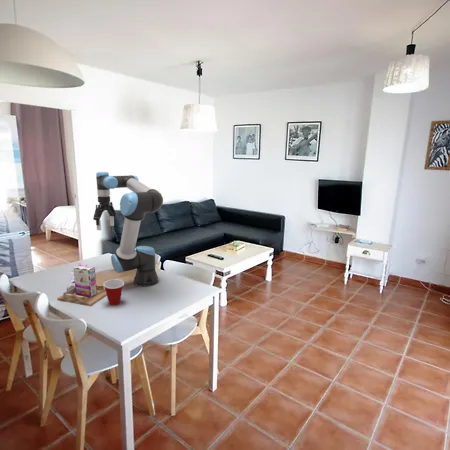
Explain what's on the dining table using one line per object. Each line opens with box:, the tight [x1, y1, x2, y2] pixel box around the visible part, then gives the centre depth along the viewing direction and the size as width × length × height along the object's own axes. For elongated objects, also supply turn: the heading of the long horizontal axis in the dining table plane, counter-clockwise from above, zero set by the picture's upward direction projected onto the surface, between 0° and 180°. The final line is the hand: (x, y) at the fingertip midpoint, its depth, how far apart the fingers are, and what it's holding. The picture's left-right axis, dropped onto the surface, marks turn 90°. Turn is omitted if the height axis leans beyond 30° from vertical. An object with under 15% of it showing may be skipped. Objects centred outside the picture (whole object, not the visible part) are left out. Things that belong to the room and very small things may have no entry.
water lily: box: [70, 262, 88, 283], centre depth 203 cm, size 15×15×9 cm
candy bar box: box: [73, 264, 97, 297], centre depth 179 cm, size 11×5×16 cm, turn 70°
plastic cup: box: [102, 278, 125, 306], centre depth 172 cm, size 11×11×12 cm
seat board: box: [56, 283, 107, 307], centre depth 181 cm, size 22×18×5 cm
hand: (105, 227), depth 210 cm, fingers open, 13 cm apart
